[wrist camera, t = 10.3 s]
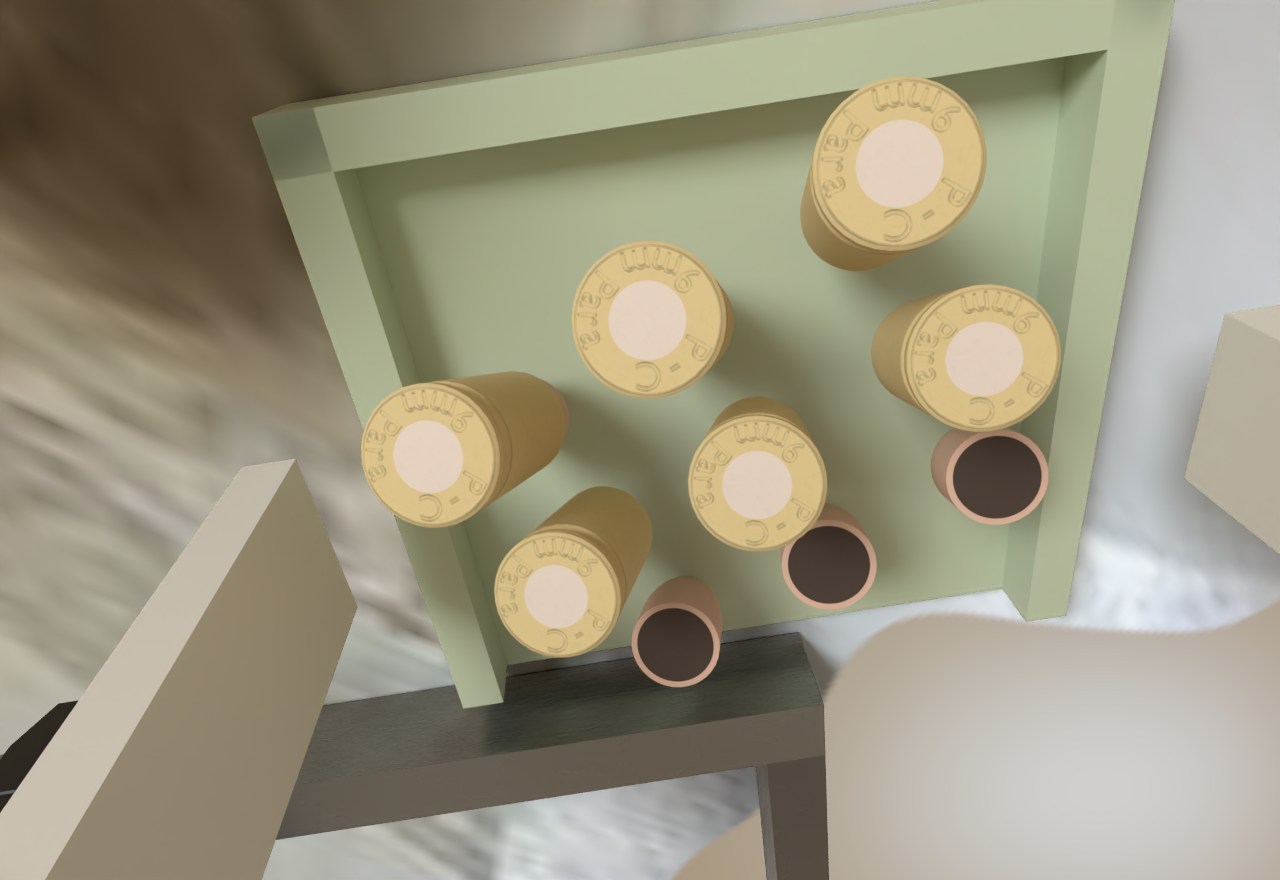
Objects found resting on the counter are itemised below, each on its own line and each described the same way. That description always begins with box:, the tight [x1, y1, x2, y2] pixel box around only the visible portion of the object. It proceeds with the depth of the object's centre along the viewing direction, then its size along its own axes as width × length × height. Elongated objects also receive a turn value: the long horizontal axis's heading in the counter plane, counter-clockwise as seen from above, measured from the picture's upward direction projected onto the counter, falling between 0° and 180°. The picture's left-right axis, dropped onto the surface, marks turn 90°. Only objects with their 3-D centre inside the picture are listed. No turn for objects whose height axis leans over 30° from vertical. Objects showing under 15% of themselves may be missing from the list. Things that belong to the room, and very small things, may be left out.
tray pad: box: [252, 0, 1175, 709], centre depth 13 cm, size 11×12×1 cm
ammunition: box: [361, 76, 1061, 687], centre depth 12 cm, size 5×7×8 cm
